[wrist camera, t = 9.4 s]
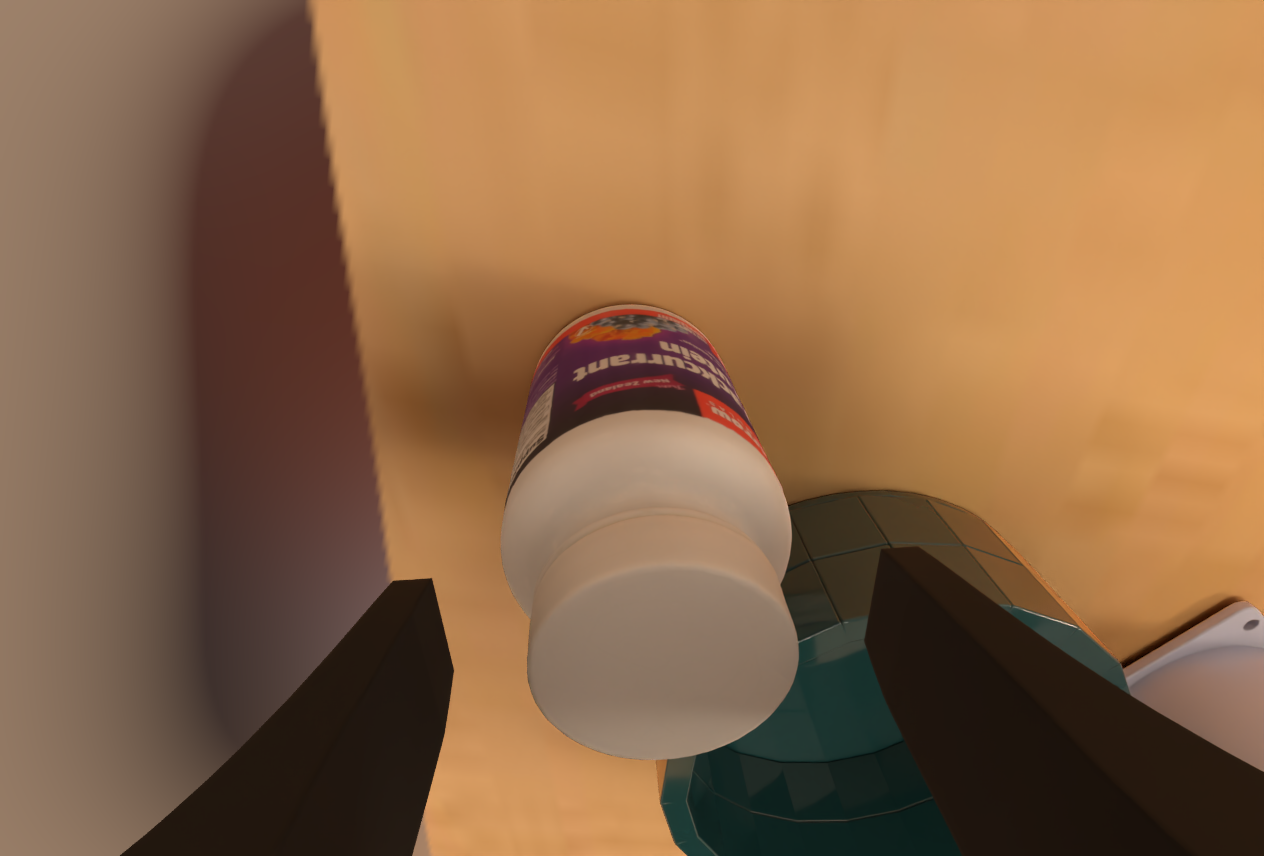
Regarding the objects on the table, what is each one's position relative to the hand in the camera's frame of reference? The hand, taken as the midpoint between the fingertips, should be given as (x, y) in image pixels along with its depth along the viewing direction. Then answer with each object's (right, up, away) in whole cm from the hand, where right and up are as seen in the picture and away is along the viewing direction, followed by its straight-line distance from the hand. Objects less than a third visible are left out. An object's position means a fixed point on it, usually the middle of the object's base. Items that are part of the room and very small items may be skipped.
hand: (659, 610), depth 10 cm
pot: (+7, -5, +13) cm, 15 cm away
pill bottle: (-1, +4, +8) cm, 9 cm away
